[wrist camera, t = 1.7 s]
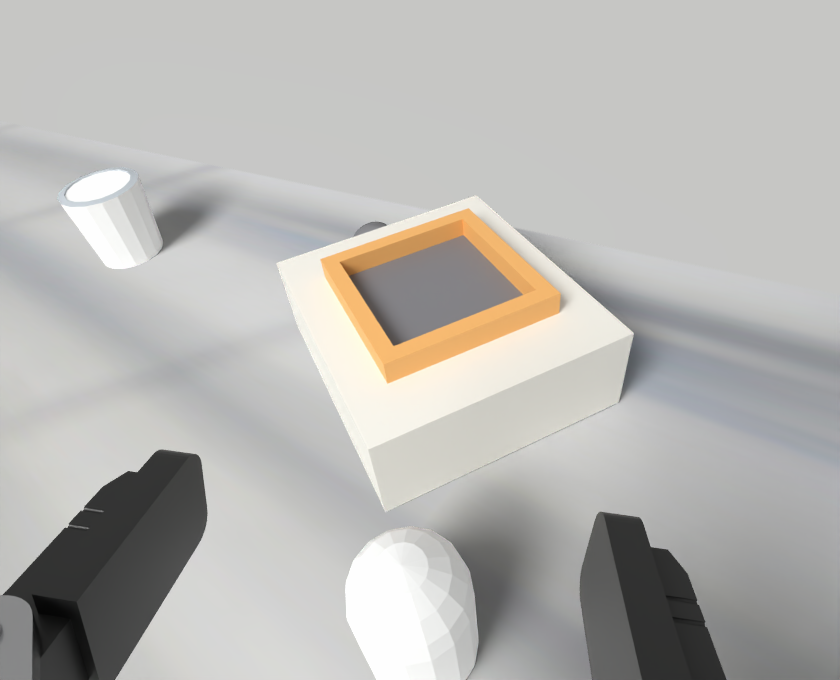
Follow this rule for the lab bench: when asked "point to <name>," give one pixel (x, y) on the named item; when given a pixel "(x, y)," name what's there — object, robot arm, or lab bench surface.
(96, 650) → the robot arm
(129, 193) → the white tapered cup
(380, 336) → the plate
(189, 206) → the lab bench surface
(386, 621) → the capsule
